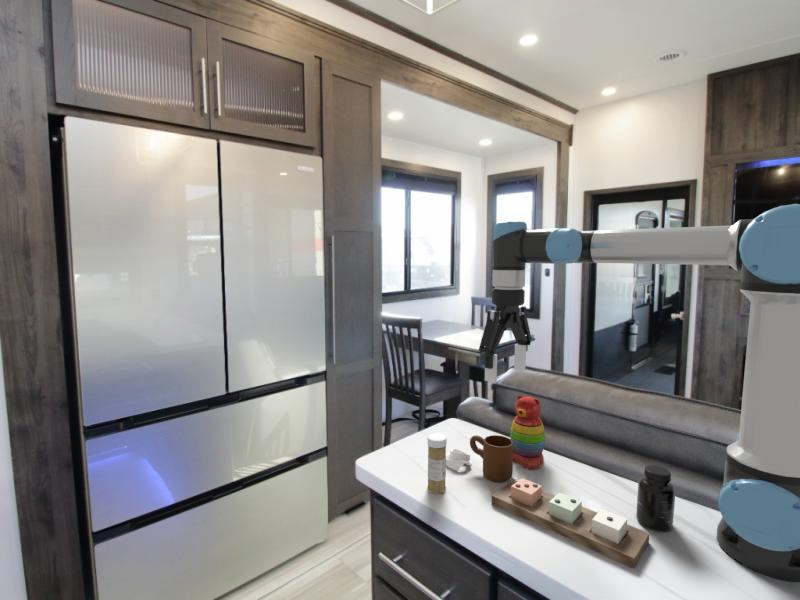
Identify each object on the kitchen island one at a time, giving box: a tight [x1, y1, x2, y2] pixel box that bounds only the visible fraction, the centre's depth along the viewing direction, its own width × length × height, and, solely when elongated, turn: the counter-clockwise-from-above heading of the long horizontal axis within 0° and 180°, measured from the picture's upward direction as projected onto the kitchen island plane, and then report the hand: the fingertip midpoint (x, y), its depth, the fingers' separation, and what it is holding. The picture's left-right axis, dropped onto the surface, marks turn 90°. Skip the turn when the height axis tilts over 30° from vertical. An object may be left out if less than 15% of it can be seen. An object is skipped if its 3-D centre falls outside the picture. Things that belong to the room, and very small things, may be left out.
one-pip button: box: [592, 508, 628, 545], centre depth 87 cm, size 5×5×3 cm
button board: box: [491, 478, 650, 569], centre depth 93 cm, size 30×10×2 cm, turn 46°
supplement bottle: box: [635, 464, 676, 533], centre depth 93 cm, size 7×7×12 cm
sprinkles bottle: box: [427, 433, 448, 495], centre depth 106 cm, size 5×5×13 cm
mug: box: [469, 434, 514, 483], centre depth 114 cm, size 12×8×9 cm, turn 51°
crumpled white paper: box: [446, 448, 473, 472], centre depth 119 cm, size 8×7×5 cm
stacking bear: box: [509, 394, 546, 471], centre depth 121 cm, size 11×10×18 cm
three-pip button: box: [511, 477, 543, 507], centre depth 99 cm, size 5×5×3 cm
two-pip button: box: [549, 492, 583, 525], centre depth 93 cm, size 5×5×3 cm
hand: (505, 375), depth 105 cm, fingers open, 13 cm apart
